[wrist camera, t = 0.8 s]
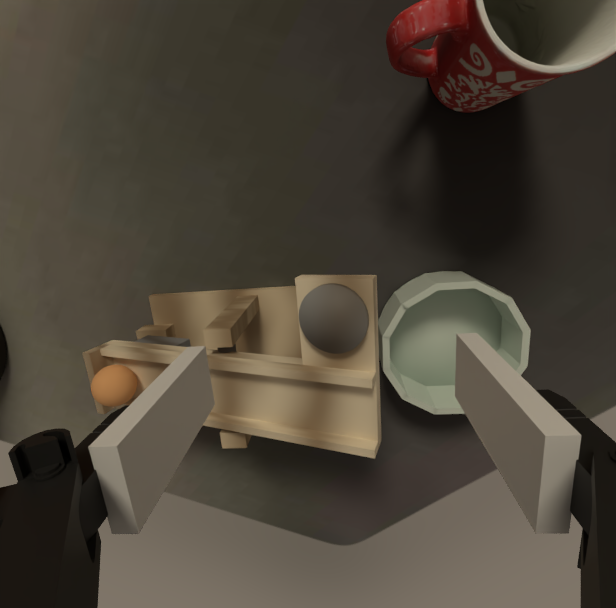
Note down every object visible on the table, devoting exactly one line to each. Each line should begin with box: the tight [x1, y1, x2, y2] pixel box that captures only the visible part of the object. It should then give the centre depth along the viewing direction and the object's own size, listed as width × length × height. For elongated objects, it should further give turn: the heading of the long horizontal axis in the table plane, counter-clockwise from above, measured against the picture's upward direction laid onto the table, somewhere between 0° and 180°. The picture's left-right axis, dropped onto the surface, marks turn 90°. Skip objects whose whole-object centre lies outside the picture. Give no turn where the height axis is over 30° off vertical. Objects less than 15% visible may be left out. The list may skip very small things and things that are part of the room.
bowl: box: [378, 271, 531, 414], centre depth 35 cm, size 12×12×5 cm
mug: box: [386, 0, 616, 113], centre depth 24 cm, size 13×9×14 cm
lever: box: [83, 275, 381, 459], centre depth 29 cm, size 24×12×6 cm, turn 94°
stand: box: [136, 286, 302, 448], centre depth 34 cm, size 17×11×11 cm, turn 94°
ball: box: [91, 365, 137, 407], centre depth 31 cm, size 3×3×3 cm
